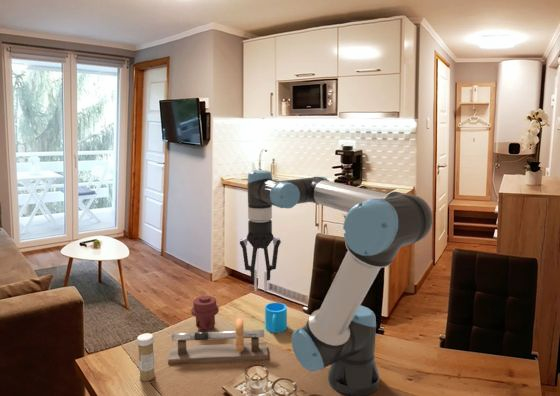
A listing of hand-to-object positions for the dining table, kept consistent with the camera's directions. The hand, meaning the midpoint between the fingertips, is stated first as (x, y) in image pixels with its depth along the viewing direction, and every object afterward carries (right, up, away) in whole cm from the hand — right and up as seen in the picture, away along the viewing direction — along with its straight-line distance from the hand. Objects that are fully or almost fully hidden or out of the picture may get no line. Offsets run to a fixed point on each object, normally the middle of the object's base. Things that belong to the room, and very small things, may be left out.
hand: (260, 289), depth 141 cm
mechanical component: (-21, -19, +21) cm, 36 cm away
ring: (-7, -19, +3) cm, 21 cm away
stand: (-14, -22, +3) cm, 27 cm away
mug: (+5, -20, +20) cm, 29 cm away
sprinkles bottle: (-34, -25, -10) cm, 43 cm away
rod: (-14, -17, +2) cm, 22 cm away
